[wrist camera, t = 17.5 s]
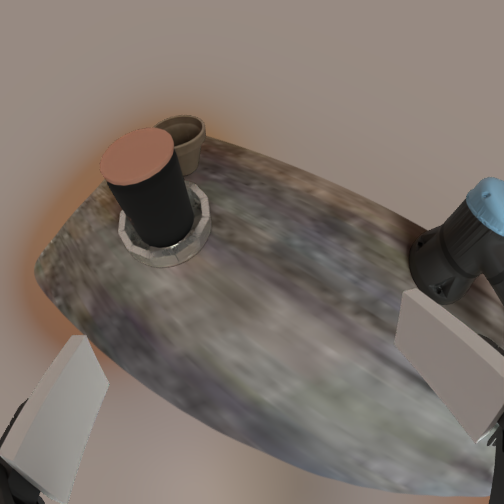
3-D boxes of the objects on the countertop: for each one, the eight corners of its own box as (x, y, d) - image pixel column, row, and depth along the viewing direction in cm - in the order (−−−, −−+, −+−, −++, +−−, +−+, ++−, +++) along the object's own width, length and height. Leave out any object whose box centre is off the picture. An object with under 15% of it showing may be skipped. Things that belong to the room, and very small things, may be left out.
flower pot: (184, 142, 60) (176, 108, 51) (221, 159, 57) (217, 123, 48) (148, 172, 55) (135, 138, 46) (184, 193, 52) (173, 156, 43)
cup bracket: (207, 186, 53) (205, 172, 50) (216, 260, 46) (213, 248, 42) (130, 200, 52) (123, 188, 48) (125, 273, 44) (115, 264, 41)
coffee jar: (147, 201, 50) (115, 131, 34) (199, 201, 50) (181, 124, 34) (133, 249, 46) (87, 184, 30) (190, 252, 45) (161, 179, 29)
